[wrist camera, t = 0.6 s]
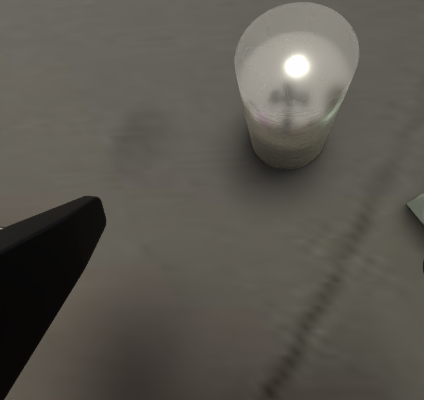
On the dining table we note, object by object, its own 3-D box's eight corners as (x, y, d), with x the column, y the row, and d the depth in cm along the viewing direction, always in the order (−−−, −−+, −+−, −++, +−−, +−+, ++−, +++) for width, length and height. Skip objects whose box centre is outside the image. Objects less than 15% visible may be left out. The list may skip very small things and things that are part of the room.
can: (342, 141, 22) (386, 62, 13) (277, 184, 22) (278, 135, 13) (297, 85, 23) (309, -20, 14) (236, 127, 23) (212, 49, 15)
